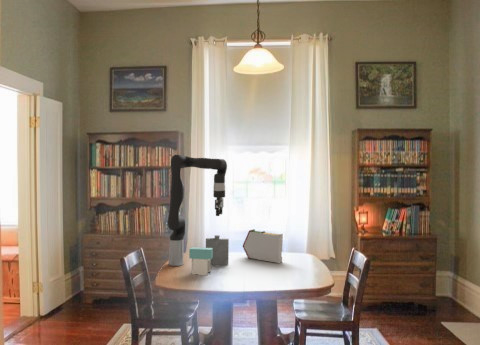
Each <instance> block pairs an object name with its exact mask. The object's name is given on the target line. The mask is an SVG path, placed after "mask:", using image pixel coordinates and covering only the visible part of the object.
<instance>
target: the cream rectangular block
mask: <svg viewBox="0 0 480 345" xmlns="http://www.w3.org/2000/svg"><path fill="white" fill-rule="evenodd" d="M208 272H210V273H211V265H210V259H192V258H191V275H195V274H198V276H208Z"/></svg>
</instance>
